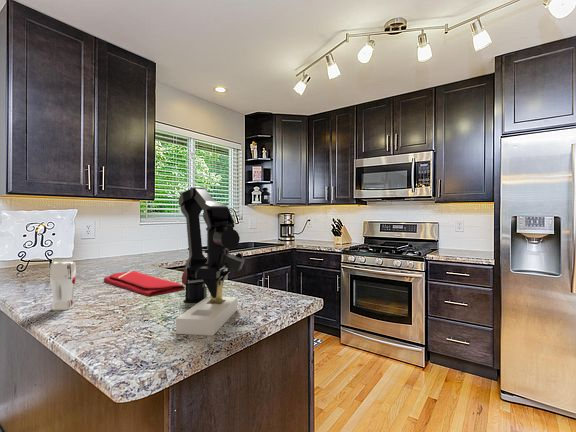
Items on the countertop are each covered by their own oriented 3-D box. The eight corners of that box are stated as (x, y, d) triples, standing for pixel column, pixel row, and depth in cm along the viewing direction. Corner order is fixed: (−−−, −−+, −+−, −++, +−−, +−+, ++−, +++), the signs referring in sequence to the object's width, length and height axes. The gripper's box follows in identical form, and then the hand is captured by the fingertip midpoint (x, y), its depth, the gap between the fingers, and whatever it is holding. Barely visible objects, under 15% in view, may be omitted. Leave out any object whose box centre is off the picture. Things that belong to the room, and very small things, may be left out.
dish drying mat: (148, 298, 118) (148, 288, 118) (102, 282, 144) (102, 274, 144) (185, 290, 131) (185, 281, 131) (136, 277, 156) (136, 270, 156)
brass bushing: (208, 304, 96) (208, 281, 96) (212, 301, 100) (213, 279, 100) (220, 305, 96) (220, 282, 96) (223, 301, 99) (224, 279, 99)
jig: (175, 333, 82) (176, 318, 82) (207, 308, 104) (207, 296, 104) (213, 335, 81) (213, 320, 81) (237, 309, 103) (237, 297, 103)
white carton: (80, 306, 106) (80, 261, 106) (59, 312, 99) (59, 264, 99) (65, 304, 108) (66, 260, 108) (44, 310, 101) (44, 263, 101)
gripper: (233, 249, 87) (232, 306, 88) (249, 243, 106) (249, 289, 106) (194, 249, 89) (194, 304, 89) (217, 243, 107) (217, 288, 107)
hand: (216, 296), depth 98 cm, fingers closed on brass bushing, 4 cm apart
